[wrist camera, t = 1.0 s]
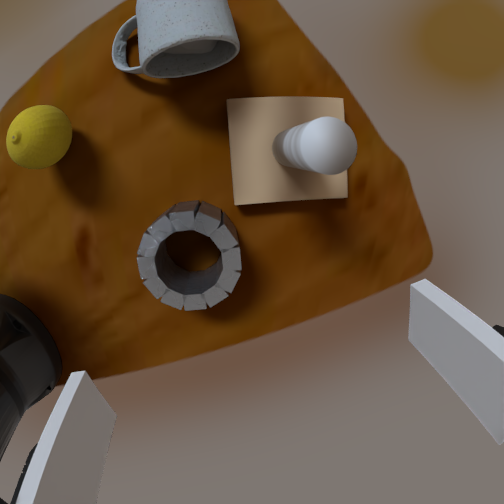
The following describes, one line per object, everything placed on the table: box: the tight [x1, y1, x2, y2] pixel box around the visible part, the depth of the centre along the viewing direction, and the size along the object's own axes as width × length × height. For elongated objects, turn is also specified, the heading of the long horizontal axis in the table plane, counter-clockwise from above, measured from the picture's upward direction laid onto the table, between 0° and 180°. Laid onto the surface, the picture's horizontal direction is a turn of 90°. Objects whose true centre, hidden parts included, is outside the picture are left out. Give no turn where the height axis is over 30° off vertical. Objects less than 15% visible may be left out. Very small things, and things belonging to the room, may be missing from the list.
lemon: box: [6, 105, 72, 169], centre depth 19 cm, size 6×6×8 cm
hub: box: [137, 200, 242, 311], centre depth 25 cm, size 8×8×5 cm
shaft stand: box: [227, 97, 357, 205], centre depth 20 cm, size 10×9×11 cm
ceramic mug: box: [112, 0, 240, 78], centre depth 17 cm, size 11×8×8 cm
